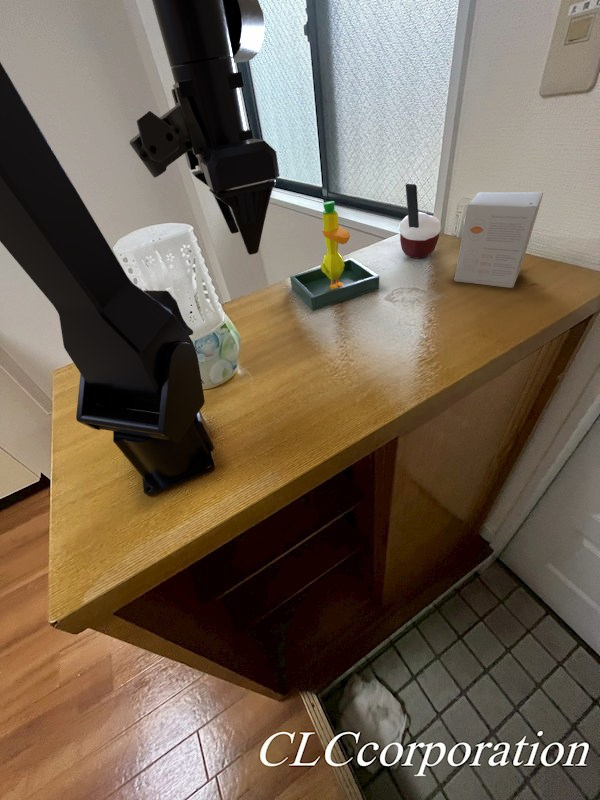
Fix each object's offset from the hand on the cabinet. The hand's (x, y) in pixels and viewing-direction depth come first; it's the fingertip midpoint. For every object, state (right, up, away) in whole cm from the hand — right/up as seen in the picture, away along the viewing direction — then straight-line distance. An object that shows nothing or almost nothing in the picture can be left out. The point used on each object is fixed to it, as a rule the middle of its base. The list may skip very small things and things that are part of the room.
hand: (243, 242), depth 41 cm
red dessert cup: (+27, +6, +18) cm, 33 cm away
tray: (+12, -1, +13) cm, 18 cm away
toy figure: (+13, -2, +12) cm, 17 cm away
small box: (+35, -1, +9) cm, 36 cm away
